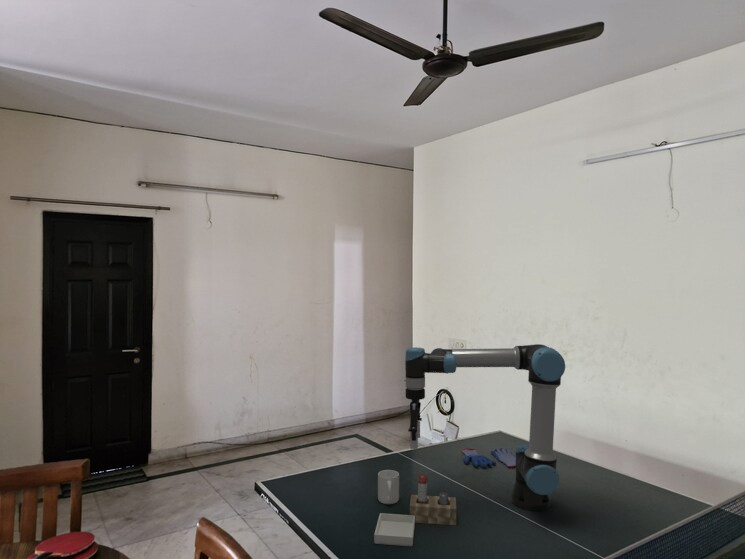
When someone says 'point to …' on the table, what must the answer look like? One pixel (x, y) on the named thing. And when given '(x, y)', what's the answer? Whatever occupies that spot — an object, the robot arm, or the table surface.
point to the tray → (395, 529)
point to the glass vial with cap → (422, 488)
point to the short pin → (443, 498)
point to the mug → (388, 486)
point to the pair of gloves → (484, 461)
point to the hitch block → (433, 511)
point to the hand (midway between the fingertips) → (415, 443)
